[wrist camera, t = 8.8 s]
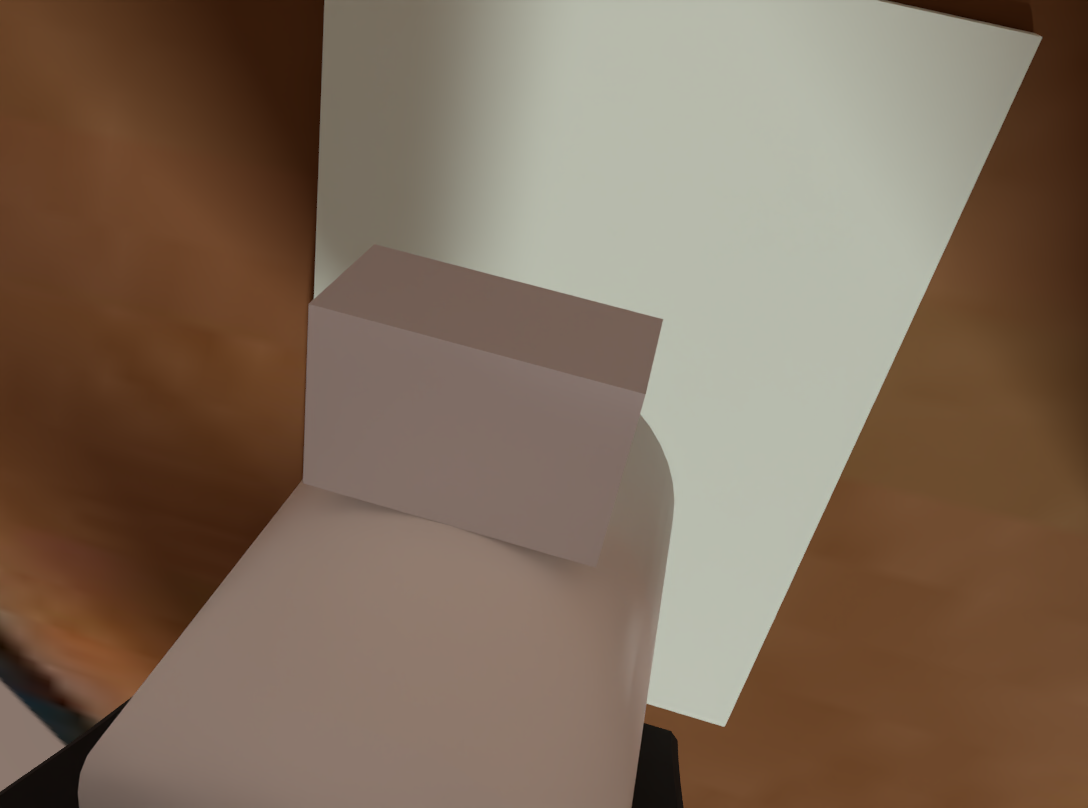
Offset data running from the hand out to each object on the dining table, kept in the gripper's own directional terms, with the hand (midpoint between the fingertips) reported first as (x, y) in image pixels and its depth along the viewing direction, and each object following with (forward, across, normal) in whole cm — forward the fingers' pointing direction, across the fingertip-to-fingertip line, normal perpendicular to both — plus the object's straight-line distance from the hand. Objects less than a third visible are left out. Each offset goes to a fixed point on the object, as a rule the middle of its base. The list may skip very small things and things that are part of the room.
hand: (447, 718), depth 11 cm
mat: (+8, 0, 0) cm, 8 cm away
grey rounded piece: (+1, 0, 0) cm, 1 cm away
